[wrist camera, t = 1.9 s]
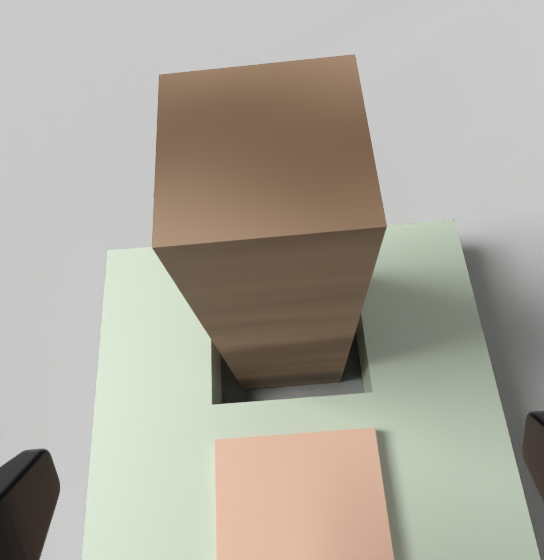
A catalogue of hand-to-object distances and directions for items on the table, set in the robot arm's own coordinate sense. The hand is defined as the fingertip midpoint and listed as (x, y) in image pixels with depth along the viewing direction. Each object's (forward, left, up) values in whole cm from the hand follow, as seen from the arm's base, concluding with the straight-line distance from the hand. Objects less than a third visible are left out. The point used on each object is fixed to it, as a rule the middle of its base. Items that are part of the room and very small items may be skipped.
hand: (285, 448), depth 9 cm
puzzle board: (+1, +1, -12) cm, 12 cm away
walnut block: (+4, +4, -12) cm, 14 cm away
